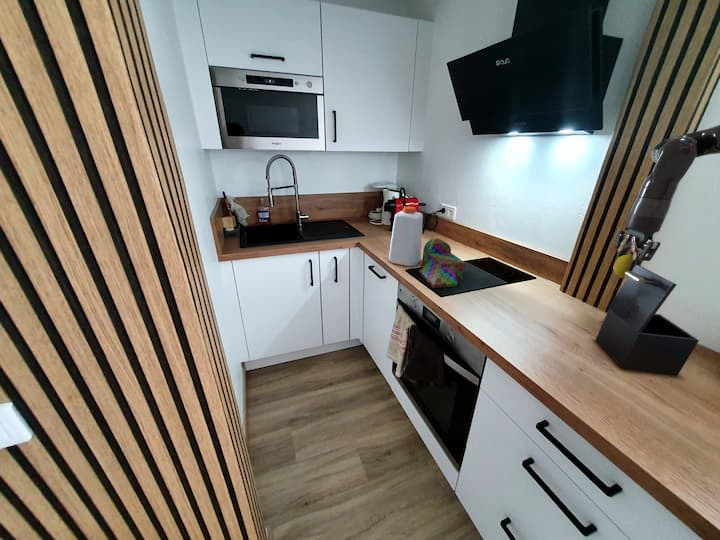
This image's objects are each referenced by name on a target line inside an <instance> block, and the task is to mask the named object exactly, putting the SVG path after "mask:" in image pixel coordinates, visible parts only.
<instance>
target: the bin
mask: <svg viewBox="0 0 720 540" xmlns="http://www.w3.org/2000/svg"><path fill="white" fill-rule="evenodd" d="M594 342H595V343H596V344H597V345H598V346H599V348H601V349H602V351H603V352H604V353H605V354H606V355H607V357H609V358H610V359H611V360H612V361H613V362H614V363H615V364H616V365H617V366H618V367H619V368H620V370H625V371H626V370H627V371H633V372H634V371H635V372H641V373H650V374H657V375H658V374H659V375H665V376H674V377H678V376H679V374H680V373H681V371H682V369H683V368H684V366H685V364H686V363H687V361H688V359H689V358H690V356H691V354H692V353H693V351H694V350H695V348H696V346H697V345H698V343H699V342H700V340H699V339H697V337H694V336H693V335H691V334H690V333H688V331H686V330H684V329H682V327H680V326H678V325H677V324H675V323H674V322H672V321H671V320H670V319H668V318H666V317H664V316H663V315H662V314H661V313H655V315H654V316H653V317H652V319H651V320H650V321H649V323H648V324H647V326H646V327H645V328H644V330H643V331H642V332H638V331H637V330H635V329H634V328H633V327H632V326H630V325H629V324H628V323H627V322H625V321H624V320H623V319H622V318H621V317H619V316H618V315H617V314H616V313H614V312H613V311H612V310H611V309H609V308H608V310H607V313H606V315H605V317H604V319H603V321H602V324H601V325H600V329H599V330H598V333H597V335H596V338H595V340H594Z"/></svg>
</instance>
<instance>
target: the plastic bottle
mask: <svg viewBox="0 0 720 540" xmlns="http://www.w3.org/2000/svg"><path fill="white" fill-rule="evenodd" d="M423 219H424V215H423V213H422V212H418V211H417V208H416V207H415V206H404V207H403V208H402V210H401V211H398V212H396V213H395V214H394V220H393V225H392V233H391V240H390V245H389V252H388V261H389V263H391V264H395V265H399V266H404V267H415V266H416V265H418V263H420V261H421V260H422V245H423V244H422V241H423V240H422V239H423Z"/></svg>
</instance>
